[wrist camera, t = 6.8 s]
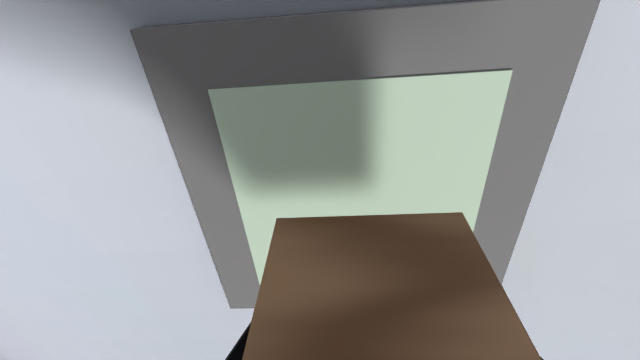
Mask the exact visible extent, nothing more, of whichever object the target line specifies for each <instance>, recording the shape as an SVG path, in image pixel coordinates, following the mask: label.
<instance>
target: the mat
mask: <svg viewBox="0 0 640 360" xmlns="http://www.w3.org/2000/svg"><path fill="white" fill-rule="evenodd" d="M599 3H600V0H474V1H462V2H449V3H437V4H424V5H412V6H399V7H387V8H375V9H362V10H350V11H337V12H325V13H312V14H300V15H288V16H275V17H263V18H250V19H238V20H225V21H213V22H201V23H188V24H176V25H163V26H151V27H139V28H135V29H132V30H130V32H131V35H132V37H133V40H134V43H135V46H136V49H137V51H138V54H139V57H140V60H141V62H142V65H143V68H144V71H145V73H146V76H147V79H148V82H149V84H150V87H151V90H152V93H153V96H154V98H155V101H156V104H157V107H158V109H159V112H160V115H161V118H162V120H163V123H164V126H165V129H166V132H167V134H168V137H169V140H170V143H171V145H172V148H173V151H174V154H175V156H176V159H177V162H178V165H179V167H180V170H181V173H182V176H183V179H184V181H185V184H186V187H187V190H188V192H189V195H190V198H191V201H192V203H193V206H194V209H195V212H196V215H197V217H198V220H199V223H200V226H201V228H202V231H203V234H204V237H205V239H206V242H207V245H208V248H209V250H210V253H211V256H212V259H213V262H214V264H215V267H216V270H217V273H218V275H219V278H220V281H221V284H222V286H223V289H224V292H225V295H226V297H227V300H228V303H229V306H230V308H255V305H256V301H257V297H258V292H259V288H260V284H261V280H262V276H263V272H264V268H265V264H266V259H267V255H268V251H269V247H270V243H271V239H272V235H273V231H274V227H275V222H276V218H297V217H328V216H359V215H391V214H422V213H453V212H462V213H463V215H464V216H465V218H466V220H467V222H468V224H469V226H470V228H471V230H472V231H473V233H474V235H475V237H476V239H477V241H478V243H479V244H480V246H481V248H482V250H483V252H484V254H485V256H486V257H487V259H488V261H489V263H490V265H491V267H492V269H493V270H494V272H495V274H496V276H497V278H498V280H499V282H500V283H501V284H502V281H503V278H504V275H505V273H506V270H507V267H508V264H509V261H510V258H511V255H512V253H513V250H514V247H515V244H516V241H517V238H518V235H519V232H520V230H521V227H522V224H523V221H524V218H525V215H526V212H527V209H528V207H529V204H530V201H531V198H532V195H533V192H534V189H535V187H536V184H537V181H538V178H539V175H540V172H541V169H542V166H543V164H544V161H545V158H546V155H547V152H548V149H549V146H550V143H551V141H552V138H553V135H554V132H555V129H556V126H557V123H558V121H559V118H560V115H561V112H562V109H563V106H564V103H565V100H566V98H567V95H568V92H569V89H570V86H571V83H572V80H573V77H574V75H575V72H576V69H577V66H578V63H579V60H580V57H581V55H582V52H583V49H584V46H585V43H586V40H587V37H588V34H589V32H590V29H591V26H592V23H593V20H594V17H595V14H596V11H597V9H598V6H599Z"/></svg>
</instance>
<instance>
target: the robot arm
mask: <svg viewBox="0 0 640 360" xmlns="http://www.w3.org/2000/svg"><path fill="white" fill-rule="evenodd" d="M250 325H251V323H250V324H249V326H248V327H247V328H246V330H245V331H244V333H243V334H242V336H241V337H240V339H239V340H238V342H237V343H236V345H235V346H234V348H233V349H232V351H231V352H230V353H229V355H228V356H227V358H226V359H225V360H242V358H243V354H244V350H245V346H246V342H247V338H248V334H249V329H250ZM540 358H541V357H540ZM541 360H543V359H542V358H541Z"/></svg>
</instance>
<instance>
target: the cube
mask: <svg viewBox="0 0 640 360" xmlns="http://www.w3.org/2000/svg"><path fill="white" fill-rule="evenodd" d="M242 360H541V358H540V356H539V354H538V352H537V350H536V349H535V347H534V345H533V343H532V341H531V339H530V337H529V336H528V334H527V332H526V330H525V328H524V326H523V324H522V322H521V321H520V319H519V317H518V315H517V313H516V311H515V309H514V308H513V306H512V304H511V302H510V300H509V298H508V296H507V295H506V293H505V291H504V289H503V287H502V285H501V283H500V282H499V280H498V278H497V276H496V274H495V272H494V270H493V269H492V267H491V265H490V263H489V261H488V259H487V257H486V256H485V254H484V252H483V250H482V248H481V246H480V244H479V243H478V241H477V239H476V237H475V235H474V233H473V231H472V230H471V228H470V226H469V224H468V222H467V220H466V218H465V216H464V215H463V213H462V212H453V213H422V214H391V215H359V216H328V217H297V218H276V222H275V227H274V231H273V235H272V239H271V243H270V247H269V251H268V255H267V259H266V264H265V268H264V272H263V276H262V280H261V284H260V288H259V292H258V297H257V301H256V305H255V309H254V313H253V317H252V321H251V325H250V329H249V334H248V338H247V342H246V346H245V350H244V354H243V358H242Z"/></svg>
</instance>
